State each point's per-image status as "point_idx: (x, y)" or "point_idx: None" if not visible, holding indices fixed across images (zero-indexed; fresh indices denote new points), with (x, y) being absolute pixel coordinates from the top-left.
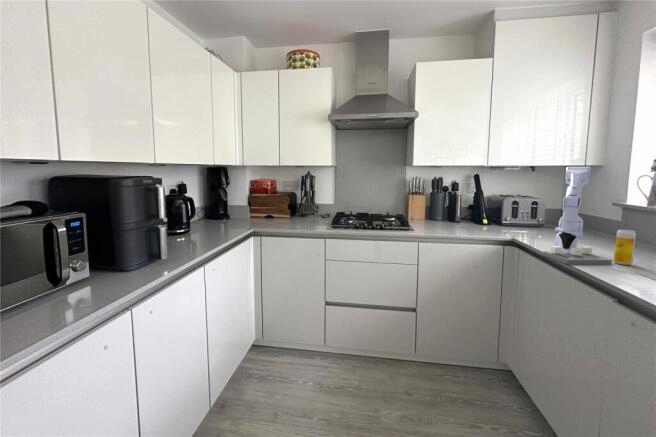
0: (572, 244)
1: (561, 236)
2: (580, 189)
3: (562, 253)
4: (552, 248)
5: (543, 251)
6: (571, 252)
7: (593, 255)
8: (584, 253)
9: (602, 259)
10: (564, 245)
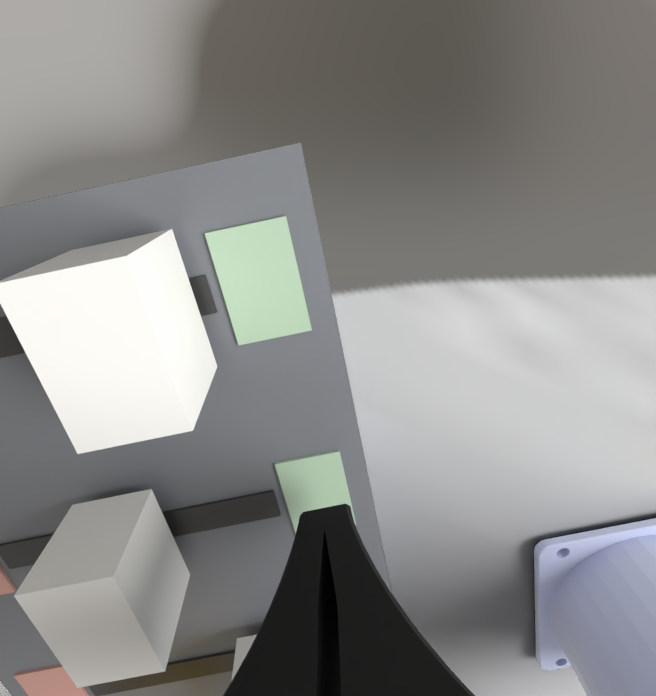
0: (600, 692)
1: None
2: None
3: (219, 415)
4: (102, 253)
5: (299, 144)
6: (118, 513)
7: (226, 687)
8: (237, 644)
9: (24, 690)
10: (301, 550)
